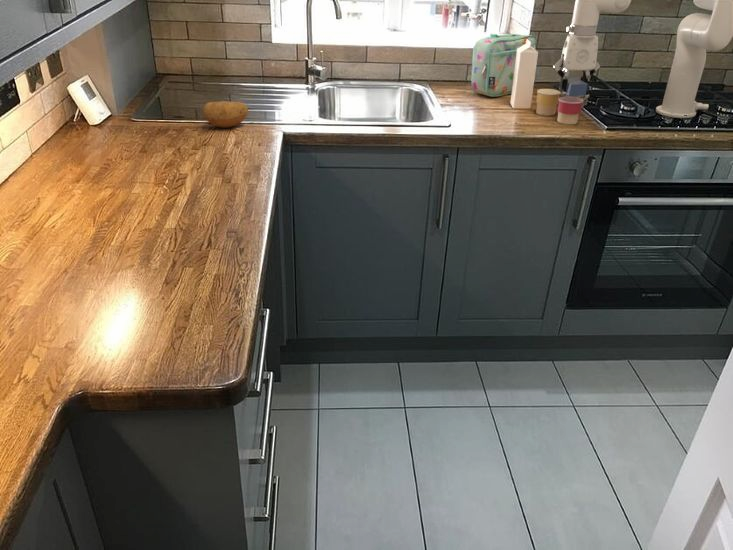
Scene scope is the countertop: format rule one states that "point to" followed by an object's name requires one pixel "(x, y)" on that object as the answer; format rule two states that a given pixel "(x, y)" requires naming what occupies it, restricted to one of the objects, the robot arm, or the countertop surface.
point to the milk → (524, 76)
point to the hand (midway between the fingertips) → (572, 90)
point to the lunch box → (496, 63)
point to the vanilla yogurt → (547, 101)
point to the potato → (225, 113)
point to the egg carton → (576, 96)
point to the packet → (575, 87)
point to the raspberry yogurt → (569, 109)
